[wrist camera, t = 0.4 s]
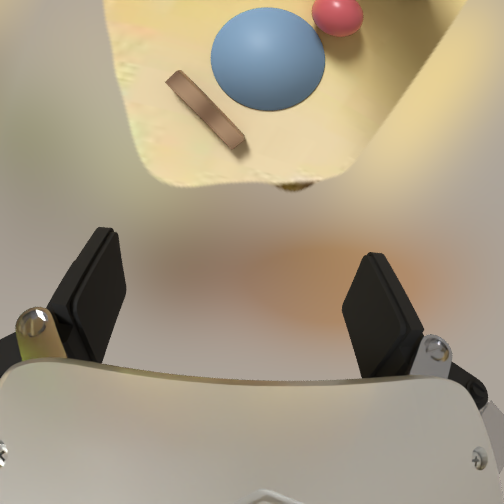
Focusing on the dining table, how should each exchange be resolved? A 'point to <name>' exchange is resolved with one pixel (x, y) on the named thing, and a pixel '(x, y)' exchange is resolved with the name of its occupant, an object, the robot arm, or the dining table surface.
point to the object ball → (337, 16)
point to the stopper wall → (205, 108)
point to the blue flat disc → (267, 59)
